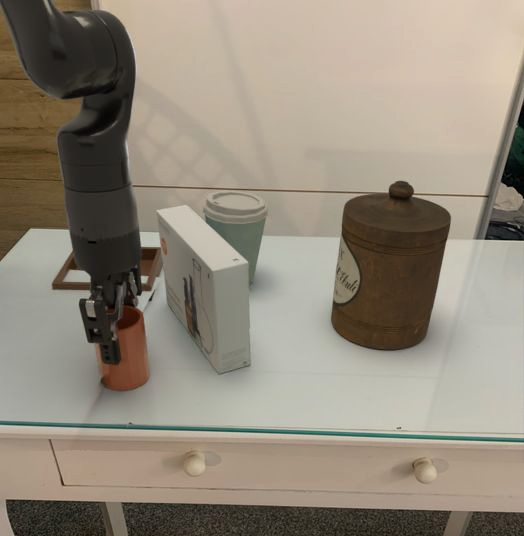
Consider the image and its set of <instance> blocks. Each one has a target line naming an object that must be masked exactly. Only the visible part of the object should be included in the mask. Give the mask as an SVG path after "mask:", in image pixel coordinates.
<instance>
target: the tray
mask: <svg viewBox="0 0 524 536" xmlns="http://www.w3.org/2000/svg"><path fill="white" fill-rule="evenodd" d="M141 250H142V258H141V261H140V270H141V277H147V280H146V282H141V284H142V292H152V291H153V292H152V293H151V295H150V297H149V299H148V301H153V298H154V295H155V291H156V288H154V290H153V286H154V283H155V280H156V278H159V277H160V275H161V271H162V269H163V262H162V253H161V246H141ZM69 271H80V272H85V271H84V270H82V269H80V268H79V267H78V266H77V265H76V263H75V260H74V254H73V250H72V251H71V252H70V254H69V255H68V257H67V258H66V260H65V261H64V263H63V265H62V266H61V268H60V270H59V271H58V273H57V274H56V276H55V277H54V279H53V281H52V283H51V287H52V290H56V291H57V290H58V291H59V290H60V291H62V290H63V291H64V290H65V291H90V281H64V280H65V278H66V277H67V275H68V273H69Z"/></svg>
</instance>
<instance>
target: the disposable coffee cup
mask: <svg viewBox="0 0 524 536" xmlns="http://www.w3.org/2000/svg"><path fill="white" fill-rule="evenodd" d="M268 206H269V205H268V203H267V202H266V201H265V199H263V198H262V197H261V196H259V195H258V194H255V193H251V192H247V191H244V190H243V191H242V190H232V189H231V190H230V189H229V190H216V191H213V192H210V193H208V194H207V195H206V199H205V200H204V203H203V207H202V214H203V215H204V219H205V222H206V223H207V224H208V225H209V226H210V227H211V228H212V229H213V230H214V231H215V232H216V233H218V234H219V235H220V236H221V237H222V238H223V239H224V240H225V241H226V242H227V243H228V244H229V245H230V246H232V247H233V248H234V249H235V250H236V251H237V252H238V253H239V254H240V255H241V256H242V257H243V258H244V259H245V260H246V261H248V263H249V268H248V271H249V286H250V285H251V284H252V283H253V281H254V279H255V273H256V269H257V264H258V260H259V254H260V250H261V245H262V239H263V236H264V231H265V227H266V226H265V225H266V221H267V217H268V216H269V208H268Z"/></svg>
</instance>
